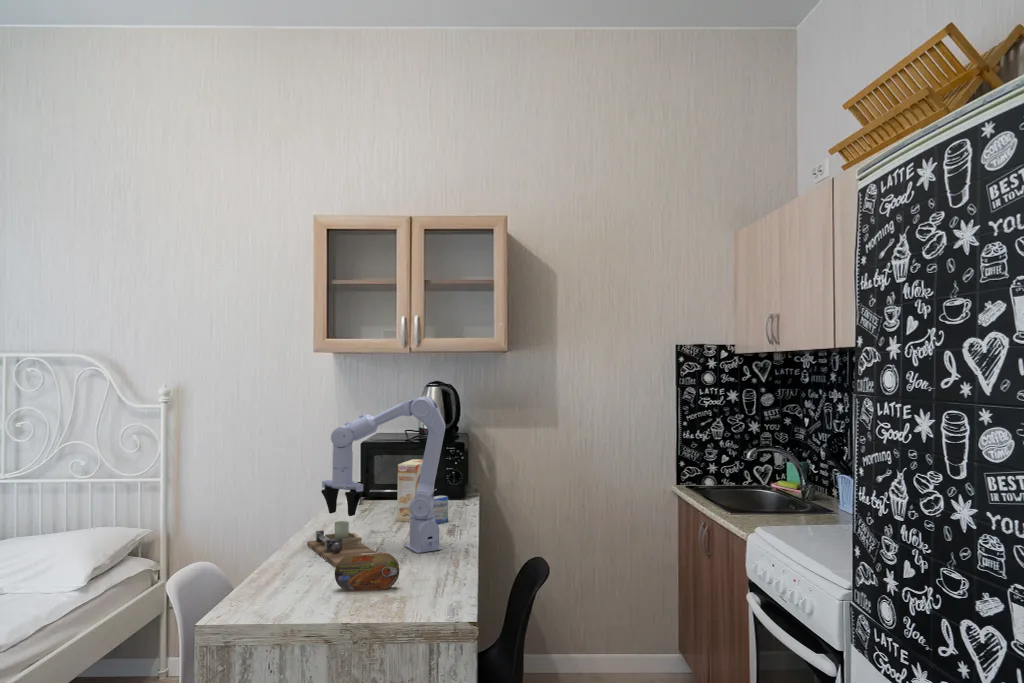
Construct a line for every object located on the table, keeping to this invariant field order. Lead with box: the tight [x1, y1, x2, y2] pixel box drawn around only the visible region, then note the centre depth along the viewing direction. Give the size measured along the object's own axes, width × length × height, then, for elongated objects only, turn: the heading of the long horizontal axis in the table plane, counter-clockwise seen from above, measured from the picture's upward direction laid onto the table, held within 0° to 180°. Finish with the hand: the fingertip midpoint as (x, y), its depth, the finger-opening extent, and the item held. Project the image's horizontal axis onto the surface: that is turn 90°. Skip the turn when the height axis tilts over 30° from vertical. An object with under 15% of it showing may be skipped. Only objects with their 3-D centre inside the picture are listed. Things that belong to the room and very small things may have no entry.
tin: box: [334, 552, 400, 592], centre depth 166 cm, size 15×3×8 cm, turn 98°
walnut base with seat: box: [306, 530, 378, 568], centre depth 197 cm, size 29×13×3 cm, turn 32°
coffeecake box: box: [396, 458, 423, 523], centre depth 246 cm, size 15×7×20 cm, turn 168°
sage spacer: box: [334, 520, 350, 539], centre depth 204 cm, size 4×4×6 cm
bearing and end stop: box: [315, 529, 342, 553], centre depth 200 cm, size 14×4×3 cm, turn 32°
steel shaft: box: [318, 534, 342, 553], centre depth 198 cm, size 16×3×3 cm, turn 32°
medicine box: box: [431, 495, 449, 525], centre depth 237 cm, size 8×4×9 cm, turn 143°
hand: (341, 514), depth 204 cm, fingers open, 7 cm apart
